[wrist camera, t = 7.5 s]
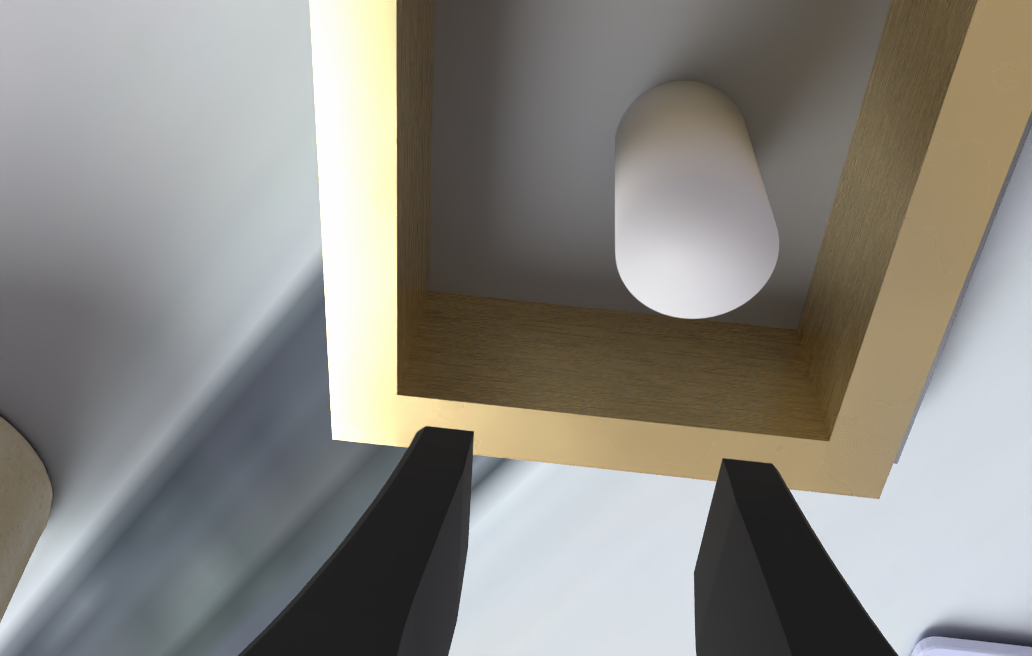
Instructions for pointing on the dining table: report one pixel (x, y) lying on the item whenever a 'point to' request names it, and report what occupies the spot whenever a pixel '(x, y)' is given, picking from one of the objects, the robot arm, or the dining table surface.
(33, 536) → the flower pot
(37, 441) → the dining table surface
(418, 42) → the gold square frame
